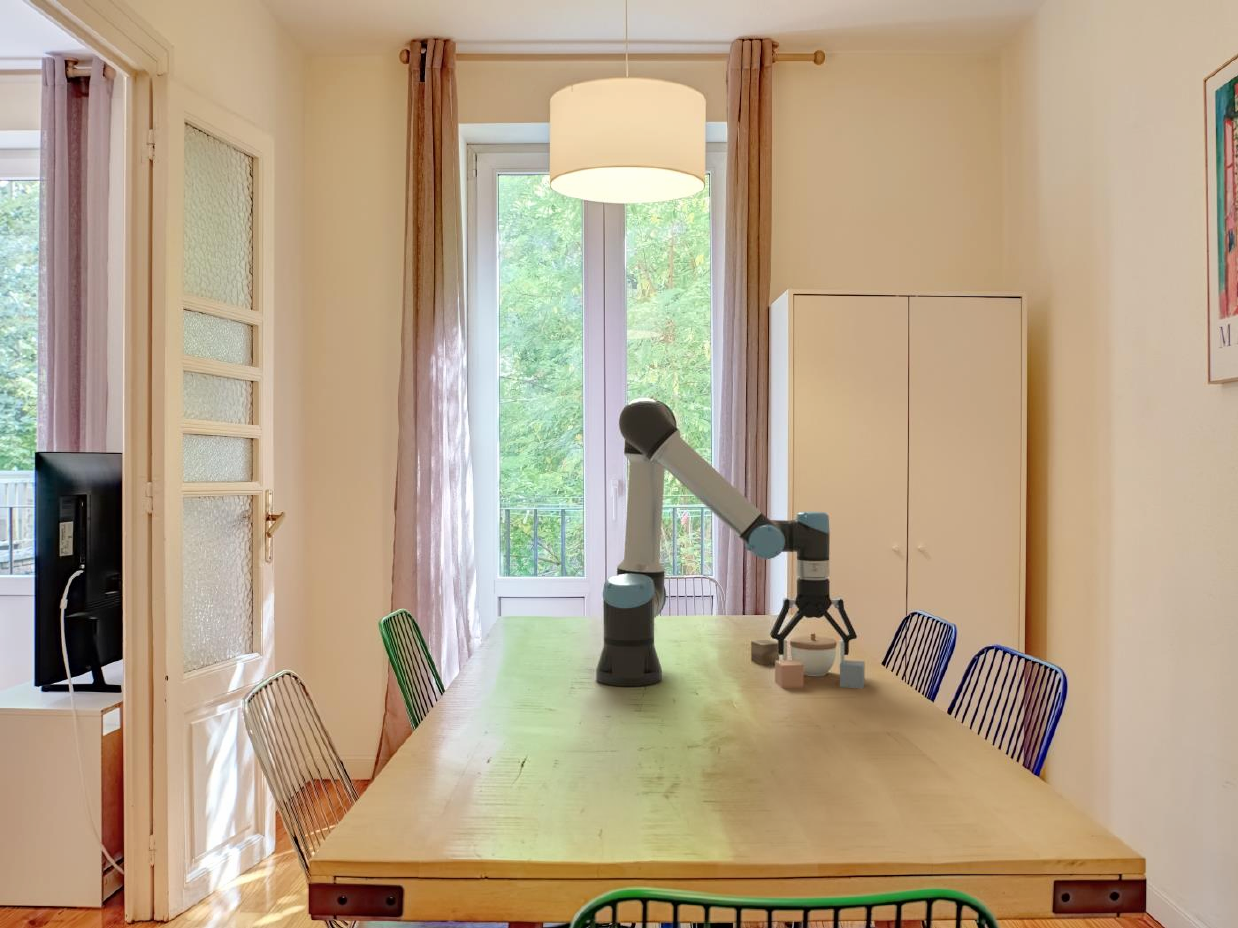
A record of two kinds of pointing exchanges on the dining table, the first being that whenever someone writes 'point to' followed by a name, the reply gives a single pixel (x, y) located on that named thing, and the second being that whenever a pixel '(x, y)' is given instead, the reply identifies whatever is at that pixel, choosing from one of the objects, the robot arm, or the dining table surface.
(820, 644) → the lidded jar
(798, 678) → the cube terracotta
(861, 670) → the cube slate
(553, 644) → the dining table surface
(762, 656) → the cube walnut
